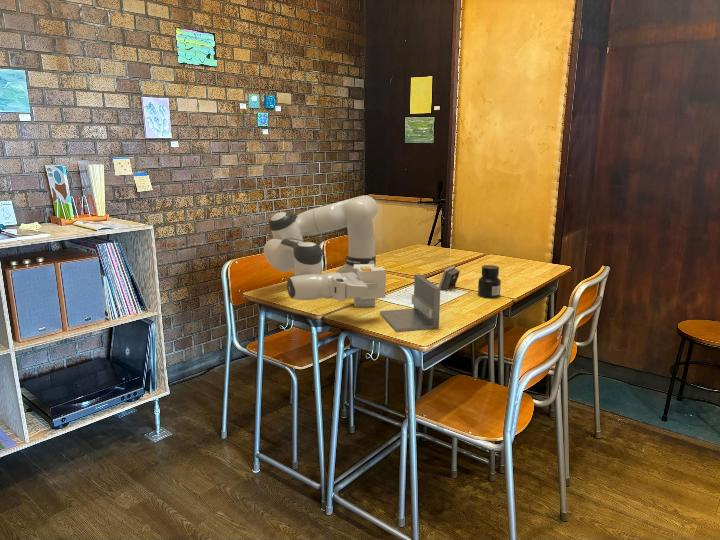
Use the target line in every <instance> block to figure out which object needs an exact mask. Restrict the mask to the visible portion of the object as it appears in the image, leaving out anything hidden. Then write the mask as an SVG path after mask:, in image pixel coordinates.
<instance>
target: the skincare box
mask: <svg viewBox="0 0 720 540" xmlns="http://www.w3.org/2000/svg"><path fill="white" fill-rule="evenodd" d="M361 267H370V268H375V267H376V265H375V266H374V264H354V267H353V273H355V274H356V275H357V269H358V268H361ZM353 305H354V306H353V307H354V308H357V307H359V308H362V307H363V308H365V307H366V308H367V307H368V308H370V307H373V308H374V307H375V306H376V298H375V299H360V298H353Z"/></svg>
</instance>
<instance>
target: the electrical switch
mask: <svg viewBox="0 0 720 540" xmlns="http://www.w3.org/2000/svg"><path fill="white" fill-rule="evenodd" d="M460 273H461V270H459V269H456V266H454V265H453V266H450V267H447V268H446V269H444V270H443V272H442V277H441V280H440V282H439V284H438V285H439V286H438V287H439V288H440V291H441V290H444V291H450V290H452V289H453V288H455V287H456V284H457V282H458V279H459V275H460Z"/></svg>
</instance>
